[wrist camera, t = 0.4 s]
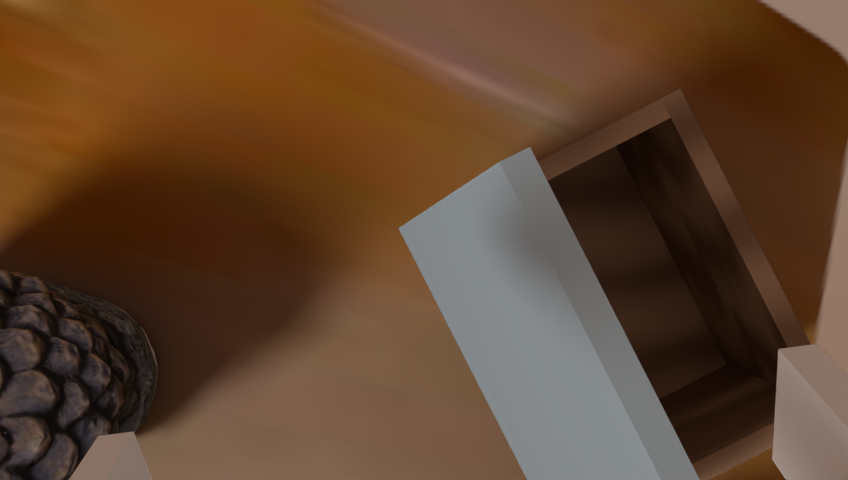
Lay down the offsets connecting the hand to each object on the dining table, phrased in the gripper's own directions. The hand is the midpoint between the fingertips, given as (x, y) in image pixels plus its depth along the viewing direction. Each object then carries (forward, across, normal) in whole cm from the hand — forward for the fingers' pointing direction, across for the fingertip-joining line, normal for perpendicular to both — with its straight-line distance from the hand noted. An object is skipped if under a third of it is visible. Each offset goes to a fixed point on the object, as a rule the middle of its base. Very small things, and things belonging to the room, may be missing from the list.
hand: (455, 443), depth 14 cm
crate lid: (+14, -4, +10) cm, 17 cm away
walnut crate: (+33, -9, +16) cm, 37 cm away
